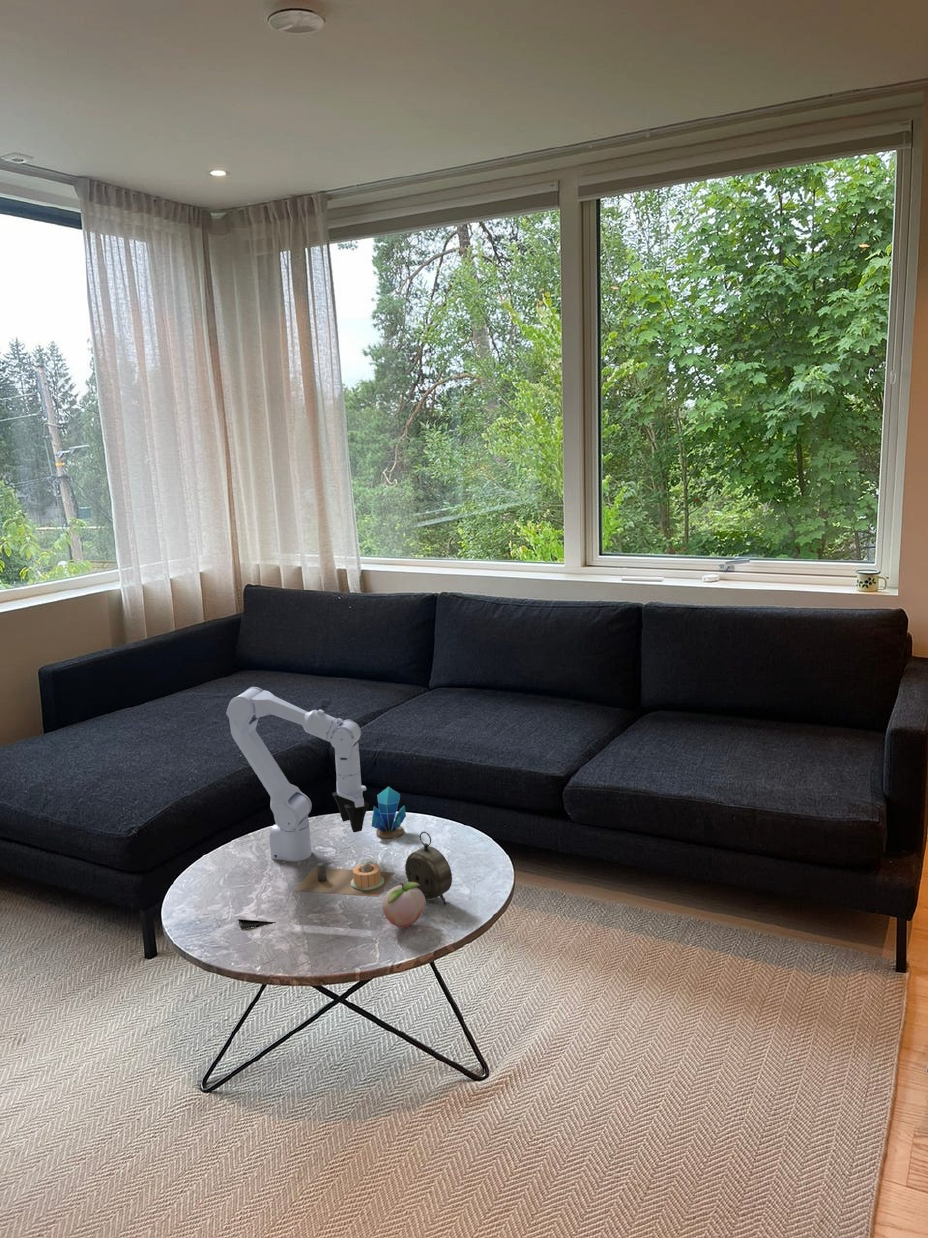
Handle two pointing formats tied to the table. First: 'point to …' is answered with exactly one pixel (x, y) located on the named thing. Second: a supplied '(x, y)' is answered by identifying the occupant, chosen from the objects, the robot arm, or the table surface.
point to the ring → (366, 876)
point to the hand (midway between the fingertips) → (352, 825)
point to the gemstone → (388, 815)
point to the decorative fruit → (404, 904)
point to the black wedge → (252, 923)
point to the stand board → (340, 881)
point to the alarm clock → (429, 871)
